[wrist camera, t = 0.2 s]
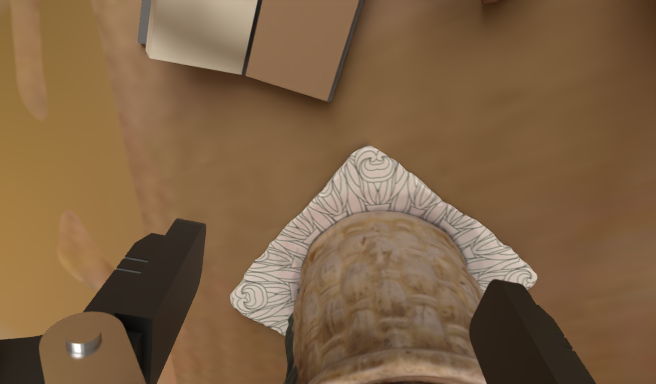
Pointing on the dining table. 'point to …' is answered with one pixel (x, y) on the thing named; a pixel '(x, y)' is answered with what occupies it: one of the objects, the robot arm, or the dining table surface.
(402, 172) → the cookie jar
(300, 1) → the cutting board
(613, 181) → the dining table surface
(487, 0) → the pottery mug
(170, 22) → the plank
